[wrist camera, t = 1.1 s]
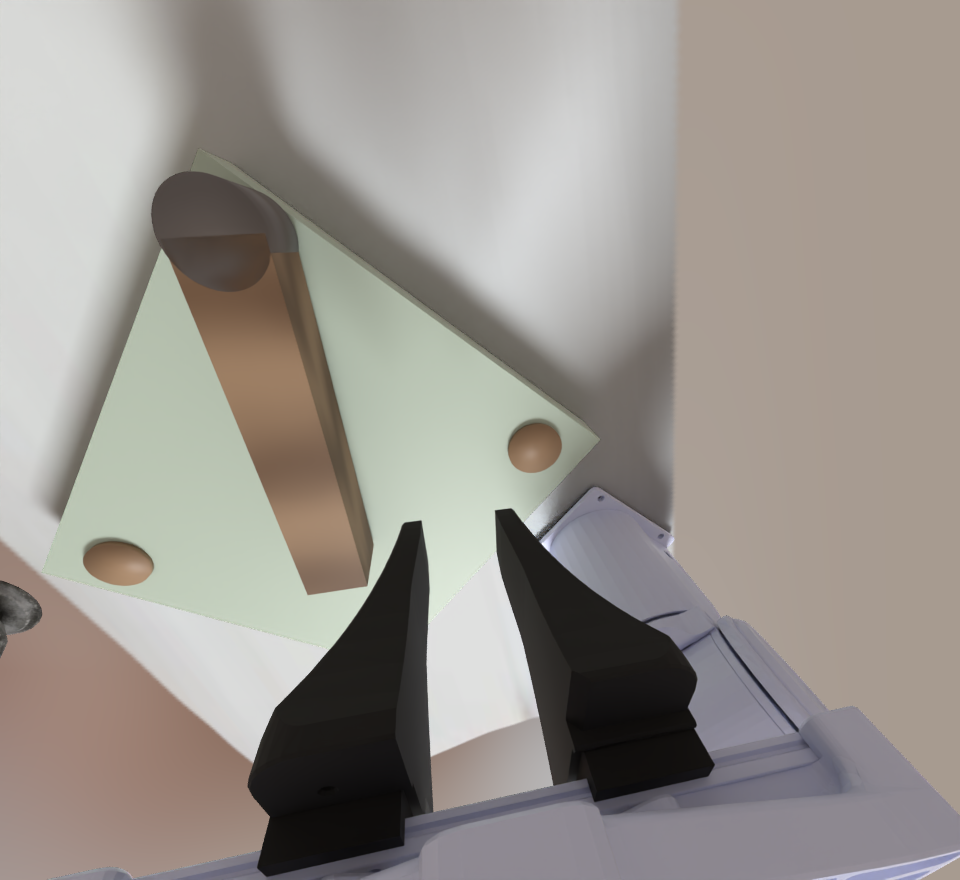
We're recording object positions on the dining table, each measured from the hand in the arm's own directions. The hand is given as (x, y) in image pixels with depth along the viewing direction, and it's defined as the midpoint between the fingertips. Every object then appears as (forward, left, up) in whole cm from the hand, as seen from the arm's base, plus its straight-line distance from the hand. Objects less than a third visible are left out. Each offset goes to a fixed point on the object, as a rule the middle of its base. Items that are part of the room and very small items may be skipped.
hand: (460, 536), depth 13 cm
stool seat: (+3, +6, -9) cm, 12 cm away
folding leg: (+7, +2, -7) cm, 10 cm away
